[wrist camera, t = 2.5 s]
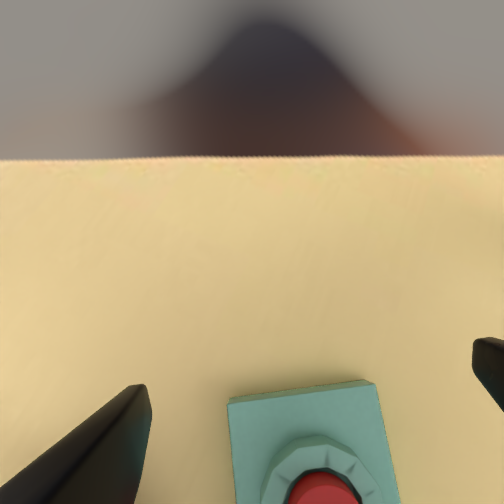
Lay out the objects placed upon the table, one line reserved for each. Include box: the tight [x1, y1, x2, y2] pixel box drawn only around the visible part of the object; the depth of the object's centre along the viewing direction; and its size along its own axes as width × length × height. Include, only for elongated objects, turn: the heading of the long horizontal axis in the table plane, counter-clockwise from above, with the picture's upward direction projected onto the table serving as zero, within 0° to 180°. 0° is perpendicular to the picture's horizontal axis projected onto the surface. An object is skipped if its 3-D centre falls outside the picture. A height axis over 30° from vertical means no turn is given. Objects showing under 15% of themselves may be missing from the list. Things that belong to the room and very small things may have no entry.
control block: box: [227, 380, 401, 504], centre depth 19 cm, size 12×10×4 cm
